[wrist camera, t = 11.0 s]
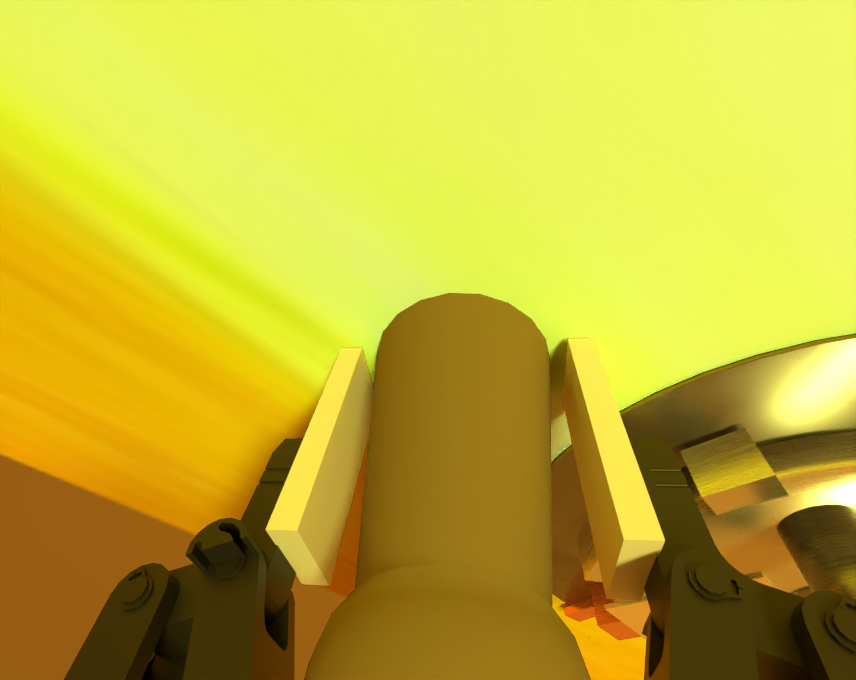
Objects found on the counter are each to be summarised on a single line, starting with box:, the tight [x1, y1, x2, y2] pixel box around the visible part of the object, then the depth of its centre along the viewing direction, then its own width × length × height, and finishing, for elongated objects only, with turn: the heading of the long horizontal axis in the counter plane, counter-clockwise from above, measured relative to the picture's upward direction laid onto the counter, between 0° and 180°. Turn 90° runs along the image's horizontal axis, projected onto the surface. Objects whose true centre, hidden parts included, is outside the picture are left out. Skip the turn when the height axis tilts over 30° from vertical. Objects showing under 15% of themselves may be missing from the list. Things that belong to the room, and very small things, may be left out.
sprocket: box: [577, 428, 856, 640], centre depth 16 cm, size 19×19×7 cm
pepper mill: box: [304, 293, 591, 680], centre depth 10 cm, size 6×6×11 cm
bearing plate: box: [551, 334, 856, 621], centre depth 19 cm, size 24×24×1 cm
